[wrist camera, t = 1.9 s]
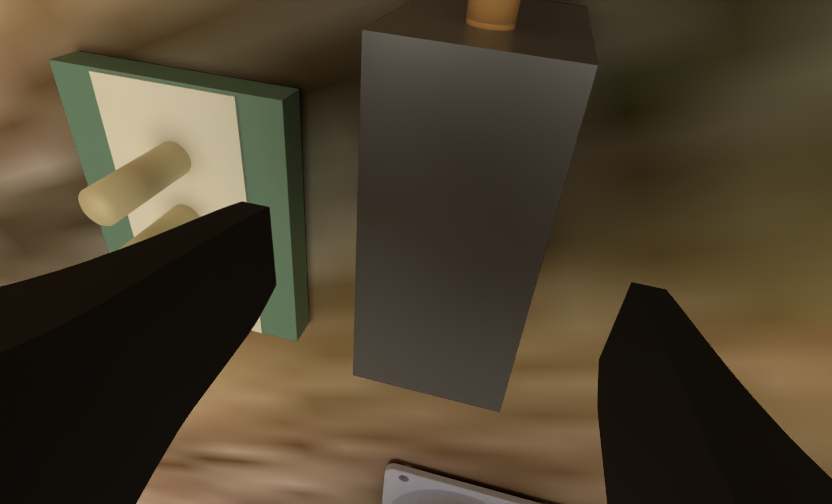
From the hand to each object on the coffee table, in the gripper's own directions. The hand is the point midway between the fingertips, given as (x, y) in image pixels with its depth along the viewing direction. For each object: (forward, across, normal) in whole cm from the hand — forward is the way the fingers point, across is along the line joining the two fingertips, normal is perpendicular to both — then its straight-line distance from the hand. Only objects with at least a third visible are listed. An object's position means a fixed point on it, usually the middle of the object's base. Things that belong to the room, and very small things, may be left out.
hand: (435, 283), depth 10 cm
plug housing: (+7, 0, -2) cm, 7 cm away
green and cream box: (+7, +10, +4) cm, 13 cm away
